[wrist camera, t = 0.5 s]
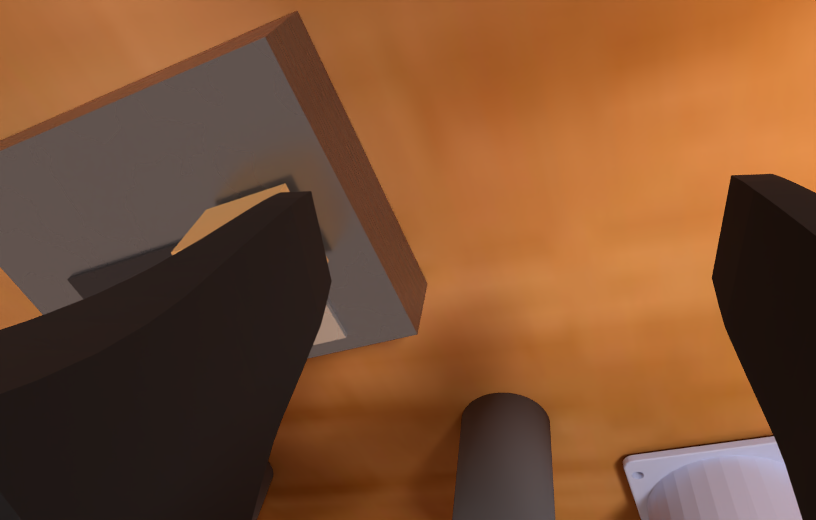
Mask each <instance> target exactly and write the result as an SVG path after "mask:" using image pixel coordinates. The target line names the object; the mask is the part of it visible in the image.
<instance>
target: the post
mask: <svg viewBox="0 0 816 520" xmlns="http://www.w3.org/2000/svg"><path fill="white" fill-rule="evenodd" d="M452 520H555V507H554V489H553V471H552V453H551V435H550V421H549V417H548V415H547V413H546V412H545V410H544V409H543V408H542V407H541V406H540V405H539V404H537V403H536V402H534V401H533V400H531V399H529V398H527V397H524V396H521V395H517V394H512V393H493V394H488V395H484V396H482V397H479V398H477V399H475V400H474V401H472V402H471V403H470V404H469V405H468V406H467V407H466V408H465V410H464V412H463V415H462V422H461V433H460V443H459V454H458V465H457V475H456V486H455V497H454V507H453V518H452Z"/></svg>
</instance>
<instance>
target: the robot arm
mask: <svg viewBox="0 0 816 520" xmlns="http://www.w3.org/2000/svg"><path fill="white" fill-rule="evenodd" d="M712 280H713V284H714V288H715V292H716V296H717V300H718V304H719V308H720V311H721V315H722V318H723V322H724V325H725V328H726V330H727V333H728V335H729V337H730V340H731V342H732V344H733V346H734V349H735V351H736V353H737V356H738V358H739V360H740V362H741V365H742V367H743V369H744V371H745V373H746V376H747V378H748V380H749V382H750V384H751V387H752V389H753V391H754V393H755V395H756V398H757V400H758V402H759V404H760V406H761V409H762V411H763V413H764V415H765V417H766V420H767V422H768V424H769V426H770V429H771V431H772V433H773V435H774V436H771V437H763V438H756V439H748V440H741V441H733V442H726V443H718V444H711V445H703V446H696V447H688V448H681V449H673V450H666V451H658V452H651V453H643V454H636V455H630V456H628V457H626V458H625V459H624V460H623V466H624V471H625V474H626V476H627V479H628V482H629V485H630V488H631V491H632V494H633V497H634V500H635V503H636V506H637V509H638V512H639V515H640V518H641V520H816V193H815V192H813V191H811V190H809V189H807V188H804V187H802V186H800V185H798V184H796V183H794V182H792V181H789V180H787V179H785V178H782V177H780V176H777V175H774V174H759V175H732V176H731V180H730V185H729V190H728V195H727V201H726V206H725V211H724V217H723V222H722V227H721V232H720V238H719V243H718V248H717V254H716V259H715V264H714V269H713V275H712ZM331 282H332V280H331V276H330V271H329V267H328V263H327V258H326V254H325V249H324V245H323V241H322V236H321V232H320V227H319V223H318V219H317V214H316V210H315V205H314V201H313V197H312V192H311V191H302V192H280V193H278V194H275V195H273V196H271V197H269V198H267V199H265V200H263V201H262V202H260V203H258V204H257V205H255V206H253V207H252V208H250V209H248V210H247V211H245V212H243V213H242V214H240V215H239V216H237V217H235V218H234V219H232V220H231V221H229V222H227V223H226V224H224V225H223V226H221V227H219V228H218V229H216V230H215V231H213V232H211V233H210V234H208V235H207V236H205V237H203V238H202V239H200V240H198V241H197V242H195V243H193V244H191V245H190V246H188V247H186V248H184V249H183V250H181V251H179V252H178V253H176V254H174V255H172V256H171V257H169V258H167V259H165V260H164V261H162V262H160V263H158V264H157V265H155V266H153V267H151V268H149V269H147V270H145V271H144V272H142V273H140V274H138V275H136V276H134V277H132V278H130V279H128V280H125V281H123V282H121V283H119V284H117V285H115V286H113V287H110V288H108V289H106V290H104V291H102V292H100V293H97V294H95V295H93V296H90V297H88V298H85V299H83V300H80V301H78V302H75V303H73V304H70V305H67V306H65V307H62V308H60V309H57V310H55V311H52V312H50V313H47V314H44V315H42V316H39V317H37V318H34V319H31V320H28V321H26V322H23V323H20V324H17V325H14V326H11V327H8V328H5V329H2V330H0V520H252V517H253V513H254V510H255V506H256V502H257V498H258V494H259V491H260V487H261V483H262V480H263V477H264V473H265V470H266V466H267V463H268V459H269V456H270V453H271V449H272V446H273V442H274V439H275V437H276V434H277V431H278V428H279V426H280V423H281V420H282V418H283V415H284V413H285V411H286V408H287V406H288V403H289V401H290V399H291V396H292V394H293V392H294V389H295V387H296V384H297V382H298V380H299V377H300V375H301V372H302V370H303V368H304V365H305V363H306V361H307V358H308V356H309V353H310V351H311V348H312V346H313V344H314V341H315V339H316V336H317V334H318V331H319V329H320V326H321V323H322V319H323V315H324V312H325V308H326V304H327V300H328V295H329V291H330V286H331Z"/></svg>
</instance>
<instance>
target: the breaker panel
mask: <svg viewBox="0 0 816 520" xmlns="http://www.w3.org/2000/svg"><path fill="white" fill-rule="evenodd" d="M282 184H286V185H287V187H288V189H289V191H290V192H302V191H311V192H312V197H313V201H314V205H315V210H316V214H317V219H318V223H319V227H320V232H321V236H322V241H323V245H324V249H325V254H326V257H327V258H328V260H329V261H328V267H329V271H330V276H331V280H332V282H331V286H330V291H329V295H328V300H327V304H326V308H325V312H324V315H323V319H322V323H321V326H320V329H319V331H318V334H317V336H316V339H315V341H314V344H313V346H312V348H311V351H310V353H309V356H308V358H312V357H316V356H321V355H326V354H330V353H335V352H339V351H344V350H348V349H353V348H357V347H362V346H366V345H371V344H376V343H380V342H385V341H389V340H394V339H398V338H403V337H407V336H412V335H416V334H418V329H419V324H420V319H421V314H422V309H423V304H424V298H425V293H426V288H427V282H426V280H425V278H424V276H423V274H422V272H421V270H420V268H419V265H418V263H417V261H416V259H415V257H414V255H413V253H412V251H411V249H410V247H409V244H408V242H407V240H406V238H405V236H404V234H403V232H402V230H401V228H400V226H399V223H398V221H397V219H396V217H395V215H394V213H393V211H392V209H391V207H390V205H389V202H388V200H387V198H386V196H385V194H384V192H383V190H382V188H381V186H380V184H379V182H378V179H377V177H376V175H375V173H374V171H373V169H372V167H371V165H370V163H369V161H368V158H367V156H366V154H365V152H364V150H363V148H362V146H361V144H360V142H359V140H358V137H357V135H356V133H355V131H354V129H353V127H352V125H351V123H350V121H349V119H348V116H347V114H346V112H345V110H344V108H343V106H342V104H341V102H340V100H339V98H338V95H337V93H336V91H335V89H334V87H333V85H332V83H331V81H330V79H329V77H328V74H327V72H326V70H325V68H324V66H323V64H322V62H321V60H320V58H319V56H318V53H317V51H316V49H315V47H314V45H313V43H312V41H311V39H310V37H309V35H308V32H307V30H306V28H305V26H304V24H303V22H302V20H301V18H300V16H299V14H298V11H295V12H293V13H291V14H288V15H286V16H284V17H281V18H279V19H277V20H275V21H272V22H270V23H268V24H266V25H263V26H261V27H259V28H256V29H254V30H252V31H250V32H247V33H245V34H243V35H240V36H238V37H236V38H234V39H231V40H229V41H227V42H224V43H222V44H220V45H218V46H215V47H213V48H211V49H209V50H206V51H204V52H202V53H199V54H197V55H195V56H193V57H190V58H188V59H186V60H183V61H181V62H179V63H177V64H174V65H172V66H170V67H167V68H165V69H163V70H161V71H158V72H156V73H154V74H152V75H149V76H147V77H145V78H142V79H140V80H138V81H136V82H133V83H131V84H129V85H126V86H124V87H122V88H120V89H117V90H115V91H113V92H110V93H108V94H106V95H104V96H101V97H99V98H97V99H95V100H92V101H90V102H88V103H85V104H83V105H81V106H79V107H76V108H74V109H72V110H69V111H67V112H65V113H63V114H60V115H58V116H56V117H53V118H51V119H49V120H47V121H44V122H42V123H40V124H38V125H35V126H33V127H31V128H28V129H26V130H24V131H22V132H19V133H17V134H15V135H12V136H10V137H8V138H6V139H3V140H1V141H0V267H1V268H2V269H3V270H4V272H5V273H6V274H7V275H8V276H9V277H10V278H11V279H12V281H13V282H14V283H15V284H16V285H17V286H18V287H19V288H20V290H21V291H22V292H23V293H24V294H25V295H26V296H27V297H28V298H29V300H30V301H31V302H32V303H33V304H34V305H35V306H36V307H37V309H38V310H39V311H40V312H41V313H42V314H43V315H44V314H47V313H50V312H52V311H55V310H57V309H60V308H62V307H65V306H67V305H70V304H73V303H75V302H78V301H80V300H83V299H85V298H88V297H90V296H93V295H95V294H97V293H100V292H102V291H104V290H106V289H108V288H110V287H113V286H115V285H117V284H119V283H121V282H123V281H125V280H128V279H130V278H132V277H134V276H136V275H138V274H140V273H142V272H144V271H145V270H147V269H149V268H151V267H153V266H155V265H157V264H158V263H160V262H162V261H164V260H165V259H167V258H169V257H171V256H172V254H171V252H172V251H173V249H174V248H175V247H176V246H177V245H178V243H179V242H180V241H181V240H182V239H183V237H184V236H185V235H186V234H187V232H188V231H189V230H190V229H191V228H192V226H193V225H194V224H195V223H196V221H197V220H198V219H199V218H200V217H201V215H202V214H203V213H204V212H205V210H207V209H210V208H213V207H216V206H219V205H222V204H225V203H228V202H231V201H234V200H237V199H240V198H243V197H246V196H249V195H252V194H255V193H258V192H261V191H264V190H267V189H270V188H273V187H276V186H279V185H282Z"/></svg>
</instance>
